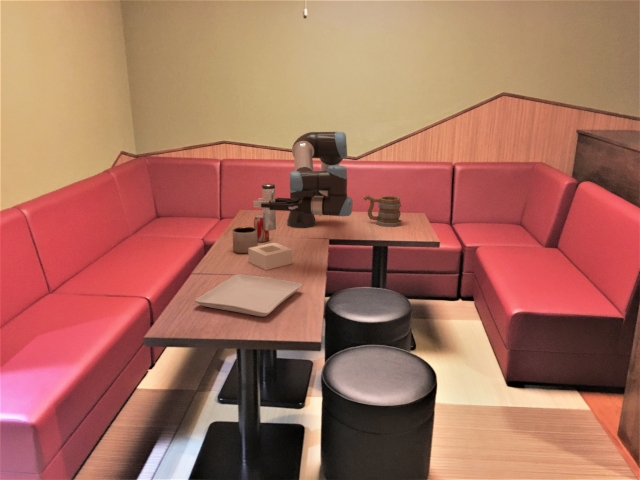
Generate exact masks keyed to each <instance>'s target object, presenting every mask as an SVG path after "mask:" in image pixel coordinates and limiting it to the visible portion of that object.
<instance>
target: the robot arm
mask: <svg viewBox="0 0 640 480" xmlns="http://www.w3.org/2000/svg"><path fill="white" fill-rule="evenodd" d="M347 145H348V144H347V135H346V133H345V132H343V131H309V132H307V133H304V134H302V135H300V136H299V137H297V139H295V141H294V142H293V145H292V149H291V153H292V156H293V158H294V171H290V172H289V193H290V194H289V197H277V198H276V197H275V202H271V200H270V201H263V198H262V197H259V198H257V200H253V208H254V209H263V208H267V209H270V210H275V211H284V212H285V211H286V212H287V211H288V212H289V213H288V217H287V219H286V224H287V226H289V227H291V228H298V229H300V228H302V229H304V228H305V229H306V228H311V227H315V226H316V225H317V221H316V220H317V219H316V218H315V216H318V217H322V216H331V217H333V216H334V217H350V216H351V215H352V213H353V208H354V207H353V197H350V196H348V170H347V169H348V168H347V167H346V166H344V165H340V163H341V162H342V161H343V160H345V159H347V158H348V146H347ZM313 159H319V160H320V164H321V165H320V168H321V169H320V170H317V171H315V170H314V163H313Z"/></svg>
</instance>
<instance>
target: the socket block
mask: <svg viewBox="0 0 640 480" xmlns="http://www.w3.org/2000/svg"><path fill="white" fill-rule="evenodd" d="M247 258H248V263H250V264H252V265H253V266H256V267H257V268H261V269H262V270H265V271H269V270H273V269H276V268H280V267H284V266H285V267H286V266H288V265H293V264H294V263H293V248H289V247H286V246H284V245H281V244H279V243H277V242H272V243H271V242H270V243H266V244H261V245H258V246H256V247H251V248H248V257H247Z"/></svg>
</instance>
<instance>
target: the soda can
mask: <svg viewBox="0 0 640 480" xmlns="http://www.w3.org/2000/svg"><path fill="white" fill-rule="evenodd" d="M253 228H256V229H257V243H265V242H268V241H269V240H270V230H264V229H263V214H256V215H255V216H254V219H253Z"/></svg>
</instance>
